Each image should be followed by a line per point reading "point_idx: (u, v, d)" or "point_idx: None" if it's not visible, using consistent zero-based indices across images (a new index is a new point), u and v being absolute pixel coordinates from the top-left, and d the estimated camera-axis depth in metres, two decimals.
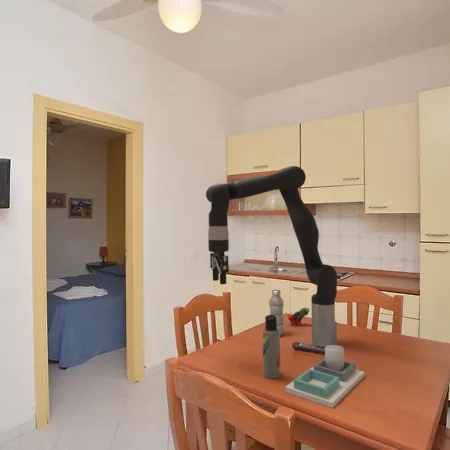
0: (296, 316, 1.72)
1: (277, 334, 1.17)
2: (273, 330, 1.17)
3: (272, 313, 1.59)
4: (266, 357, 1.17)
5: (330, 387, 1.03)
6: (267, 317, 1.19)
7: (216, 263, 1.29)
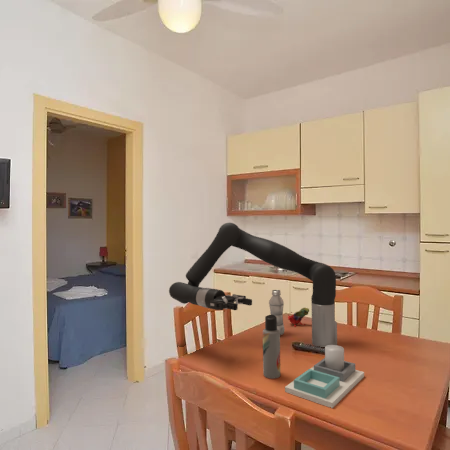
0: (296, 316, 1.72)
1: (277, 334, 1.17)
2: (273, 330, 1.17)
3: (272, 313, 1.59)
4: (266, 357, 1.17)
5: (330, 387, 1.03)
6: (267, 317, 1.19)
7: None
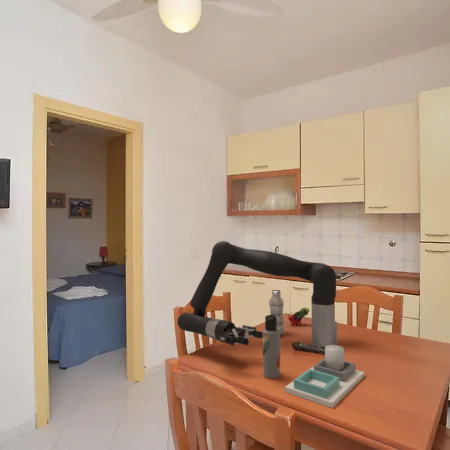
0: (296, 316, 1.72)
1: (277, 334, 1.17)
2: (273, 330, 1.17)
3: (272, 313, 1.59)
4: (266, 357, 1.17)
5: (330, 387, 1.03)
6: (267, 317, 1.19)
7: None
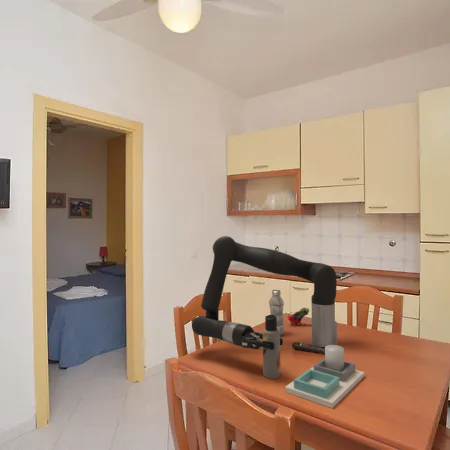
0: (296, 316, 1.72)
1: (277, 334, 1.17)
2: (273, 330, 1.17)
3: (272, 313, 1.59)
4: (266, 357, 1.17)
5: (330, 387, 1.03)
6: (267, 317, 1.19)
7: None
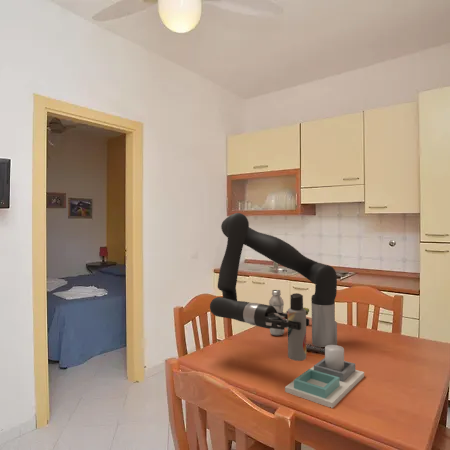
0: None
1: (304, 313, 1.10)
2: (299, 309, 1.10)
3: None
4: (292, 338, 1.10)
5: (330, 387, 1.03)
6: (293, 295, 1.11)
7: None
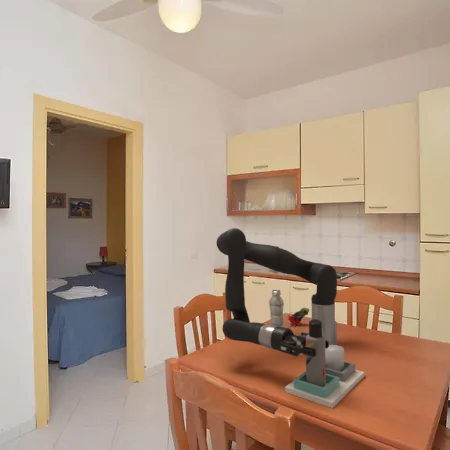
0: (296, 316, 1.72)
1: (323, 341, 1.05)
2: (319, 337, 1.06)
3: (272, 313, 1.59)
4: (311, 367, 1.06)
5: (330, 387, 1.03)
6: (311, 322, 1.07)
7: None
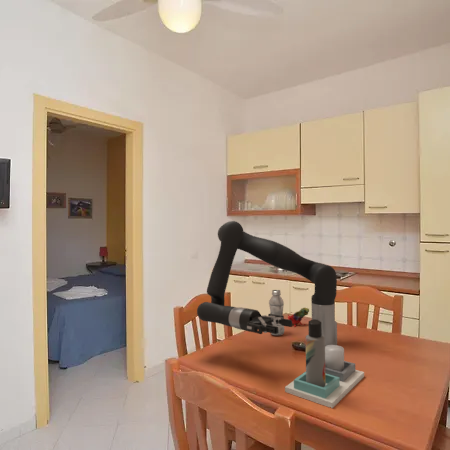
0: (296, 316, 1.72)
1: (323, 341, 1.05)
2: (318, 337, 1.06)
3: (272, 313, 1.59)
4: (311, 367, 1.06)
5: (330, 387, 1.03)
6: (311, 322, 1.07)
7: None
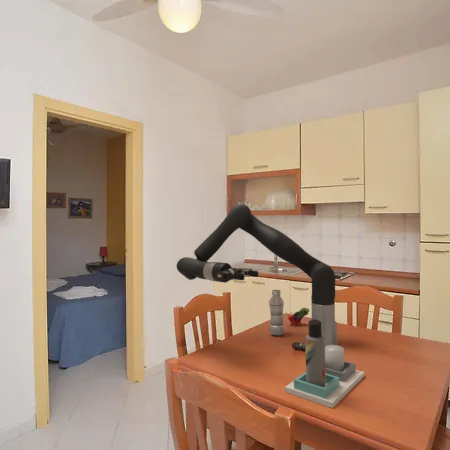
0: (296, 316, 1.72)
1: (323, 341, 1.05)
2: (318, 337, 1.06)
3: (272, 313, 1.59)
4: (311, 367, 1.06)
5: (330, 387, 1.03)
6: (311, 322, 1.07)
7: None
